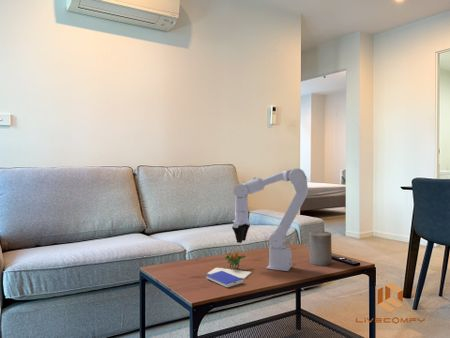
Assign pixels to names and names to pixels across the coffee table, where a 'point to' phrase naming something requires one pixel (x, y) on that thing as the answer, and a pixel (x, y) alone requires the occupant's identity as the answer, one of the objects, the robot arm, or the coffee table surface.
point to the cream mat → (232, 272)
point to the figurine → (234, 259)
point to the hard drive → (224, 278)
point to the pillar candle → (320, 248)
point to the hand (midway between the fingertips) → (241, 241)
